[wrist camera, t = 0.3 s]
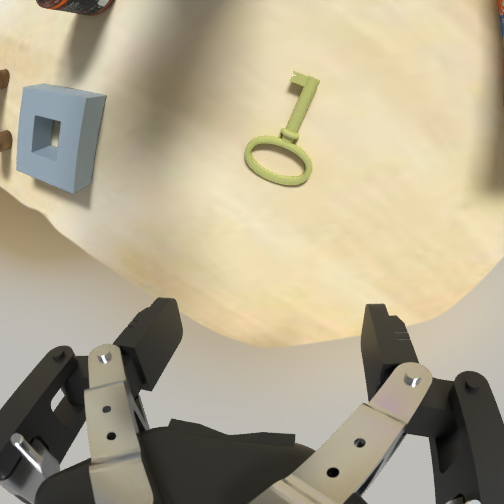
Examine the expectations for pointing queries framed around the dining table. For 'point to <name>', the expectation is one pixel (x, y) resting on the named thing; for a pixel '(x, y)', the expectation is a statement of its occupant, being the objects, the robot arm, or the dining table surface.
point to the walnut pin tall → (4, 78)
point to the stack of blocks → (501, 16)
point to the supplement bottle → (76, 5)
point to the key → (288, 136)
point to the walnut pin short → (5, 140)
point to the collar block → (70, 137)
